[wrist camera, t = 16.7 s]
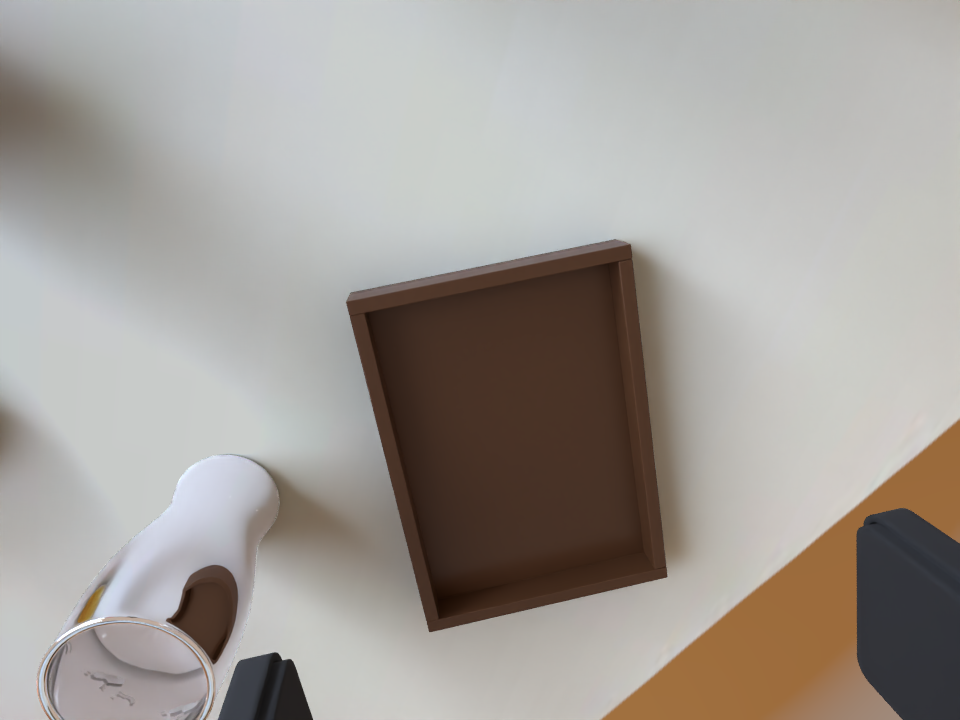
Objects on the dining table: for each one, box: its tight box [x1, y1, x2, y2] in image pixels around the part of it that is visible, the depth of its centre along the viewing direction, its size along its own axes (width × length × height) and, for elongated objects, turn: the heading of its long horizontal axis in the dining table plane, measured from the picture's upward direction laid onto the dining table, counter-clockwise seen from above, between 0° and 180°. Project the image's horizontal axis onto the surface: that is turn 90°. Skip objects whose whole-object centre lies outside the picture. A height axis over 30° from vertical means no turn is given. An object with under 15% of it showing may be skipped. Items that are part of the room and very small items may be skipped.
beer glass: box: [37, 455, 279, 720], centre depth 32 cm, size 7×7×15 cm
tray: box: [346, 239, 667, 632], centre depth 39 cm, size 22×16×3 cm
